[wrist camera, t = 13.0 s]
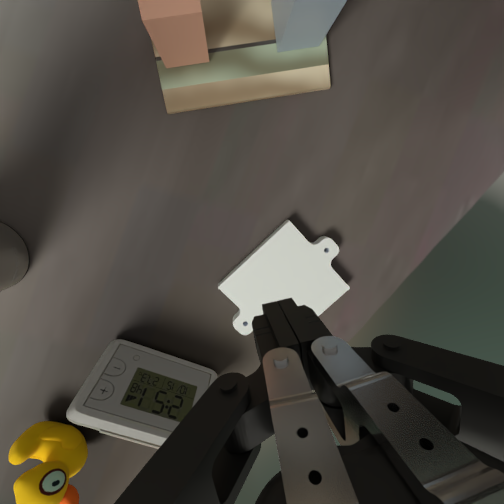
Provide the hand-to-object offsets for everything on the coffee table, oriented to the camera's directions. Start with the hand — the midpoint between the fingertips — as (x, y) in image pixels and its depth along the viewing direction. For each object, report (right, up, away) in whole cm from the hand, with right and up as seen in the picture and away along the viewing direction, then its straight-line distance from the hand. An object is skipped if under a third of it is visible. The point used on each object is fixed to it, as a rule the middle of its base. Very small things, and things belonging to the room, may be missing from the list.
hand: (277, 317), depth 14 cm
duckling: (-28, -24, +28) cm, 46 cm away
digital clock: (-14, -14, +27) cm, 33 cm away
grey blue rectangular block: (+4, +29, +18) cm, 35 cm away
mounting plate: (+3, -1, +26) cm, 26 cm away
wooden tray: (-3, +27, +19) cm, 33 cm away
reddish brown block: (-9, +27, +18) cm, 34 cm away
